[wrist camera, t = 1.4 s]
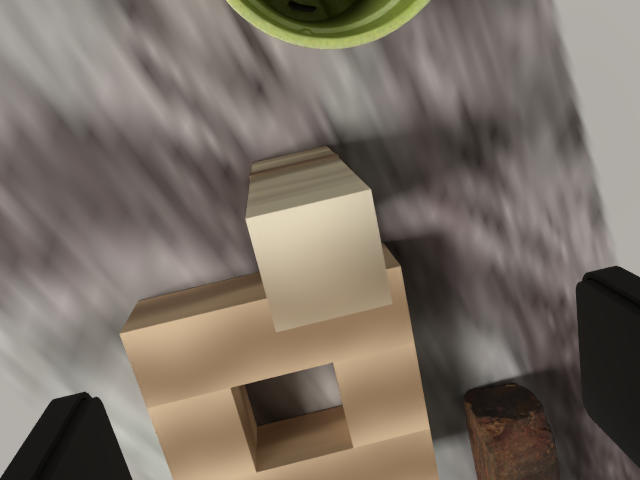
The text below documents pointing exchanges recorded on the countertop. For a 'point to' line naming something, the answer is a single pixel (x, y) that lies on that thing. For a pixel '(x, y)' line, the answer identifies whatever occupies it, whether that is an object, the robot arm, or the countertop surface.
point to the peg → (315, 238)
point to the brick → (510, 435)
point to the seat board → (270, 361)
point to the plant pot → (328, 20)
